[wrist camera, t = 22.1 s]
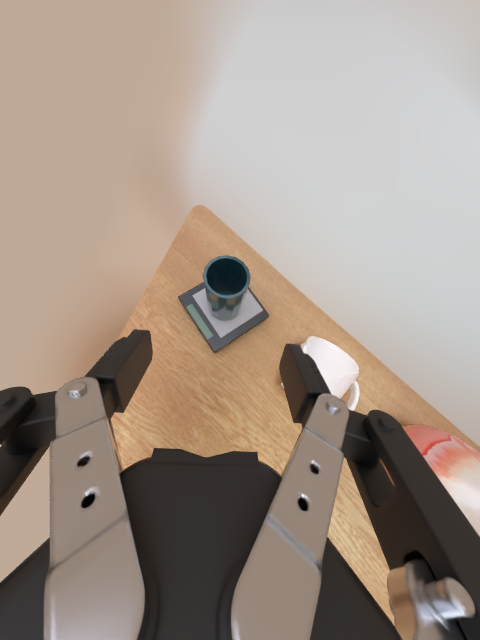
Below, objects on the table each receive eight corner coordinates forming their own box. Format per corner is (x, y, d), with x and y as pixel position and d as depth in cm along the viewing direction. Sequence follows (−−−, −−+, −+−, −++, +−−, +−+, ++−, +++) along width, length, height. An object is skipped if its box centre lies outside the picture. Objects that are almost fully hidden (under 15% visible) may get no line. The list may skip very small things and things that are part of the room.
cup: (219, 327, 34) (220, 307, 23) (201, 300, 35) (194, 269, 24) (247, 309, 35) (259, 283, 24) (228, 284, 36) (233, 248, 25)
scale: (214, 353, 35) (214, 352, 33) (179, 300, 37) (177, 295, 34) (267, 318, 38) (270, 314, 35) (232, 270, 40) (233, 263, 37)
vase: (412, 529, 31) (640, 717, 14) (345, 465, 33) (481, 568, 16) (446, 455, 35) (663, 535, 18) (384, 400, 36) (531, 426, 19)
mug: (271, 379, 35) (286, 382, 27) (299, 339, 37) (320, 331, 30) (325, 424, 34) (356, 440, 26) (351, 380, 36) (386, 383, 29)
